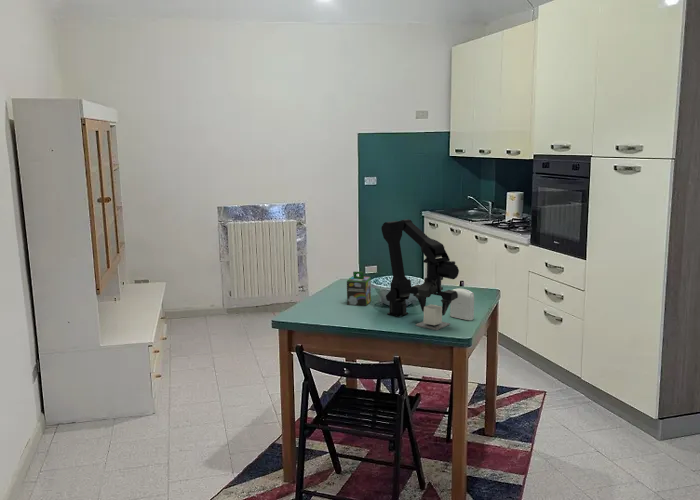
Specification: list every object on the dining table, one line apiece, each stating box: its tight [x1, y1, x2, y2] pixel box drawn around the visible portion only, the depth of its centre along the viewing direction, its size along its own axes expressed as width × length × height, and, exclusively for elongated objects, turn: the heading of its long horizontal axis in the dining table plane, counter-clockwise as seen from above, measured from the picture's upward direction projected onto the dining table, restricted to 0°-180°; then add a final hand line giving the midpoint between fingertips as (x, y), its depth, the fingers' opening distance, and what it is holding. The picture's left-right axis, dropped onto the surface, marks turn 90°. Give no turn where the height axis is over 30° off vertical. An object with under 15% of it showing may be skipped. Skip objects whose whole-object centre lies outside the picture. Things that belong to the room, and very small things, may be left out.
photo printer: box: [449, 288, 475, 321], centre depth 262 cm, size 10×4×12 cm, turn 47°
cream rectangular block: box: [423, 303, 443, 325], centre depth 253 cm, size 5×5×7 cm
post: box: [414, 320, 451, 331], centre depth 253 cm, size 10×10×7 cm
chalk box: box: [346, 271, 372, 307], centre depth 286 cm, size 9×9×15 cm
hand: (433, 313), depth 253 cm, fingers open, 9 cm apart
